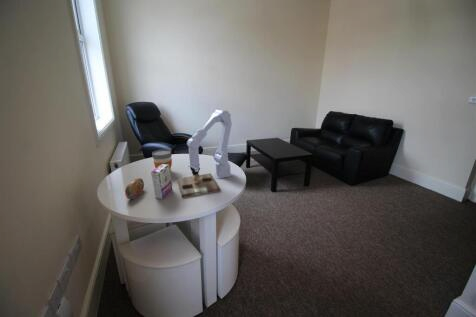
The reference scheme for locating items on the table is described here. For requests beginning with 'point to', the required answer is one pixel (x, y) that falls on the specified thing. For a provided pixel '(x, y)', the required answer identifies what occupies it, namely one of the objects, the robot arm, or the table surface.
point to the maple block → (196, 178)
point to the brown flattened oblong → (134, 188)
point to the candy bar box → (162, 181)
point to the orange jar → (162, 158)
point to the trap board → (197, 185)
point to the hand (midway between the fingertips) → (195, 177)
